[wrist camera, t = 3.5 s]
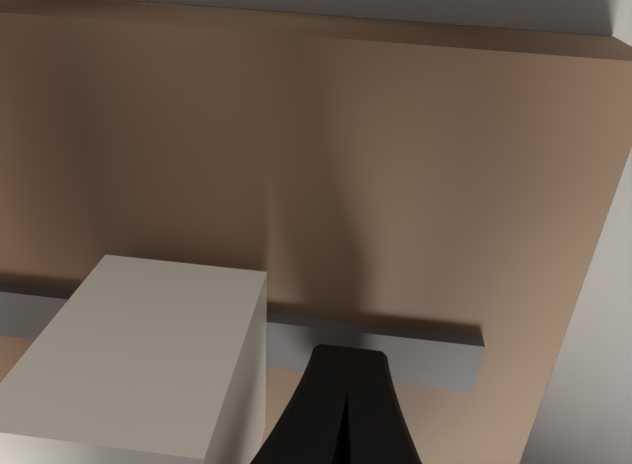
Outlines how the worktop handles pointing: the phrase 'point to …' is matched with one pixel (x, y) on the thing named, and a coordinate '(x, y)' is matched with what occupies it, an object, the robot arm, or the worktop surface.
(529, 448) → the worktop surface
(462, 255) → the fader console
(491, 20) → the worktop surface
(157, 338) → the fader tab
